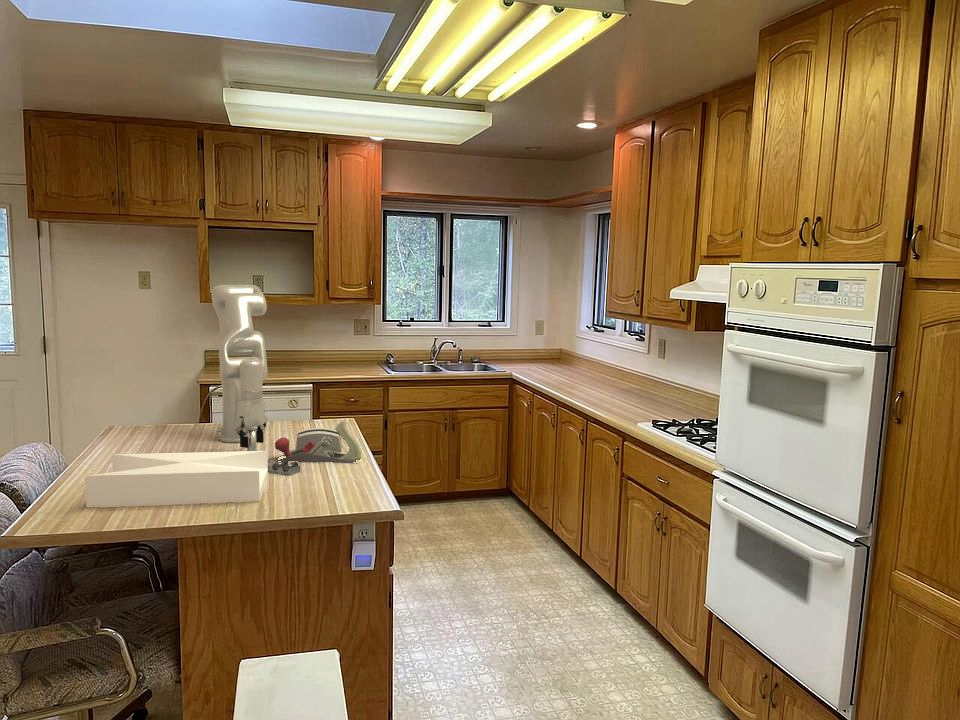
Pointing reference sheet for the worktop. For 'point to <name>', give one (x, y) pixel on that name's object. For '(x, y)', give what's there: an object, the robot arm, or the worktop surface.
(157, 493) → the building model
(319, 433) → the beige arched grooved block
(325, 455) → the hand plane
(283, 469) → the knobbed grey strip
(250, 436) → the pin
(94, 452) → the worktop surface
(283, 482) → the worktop surface
